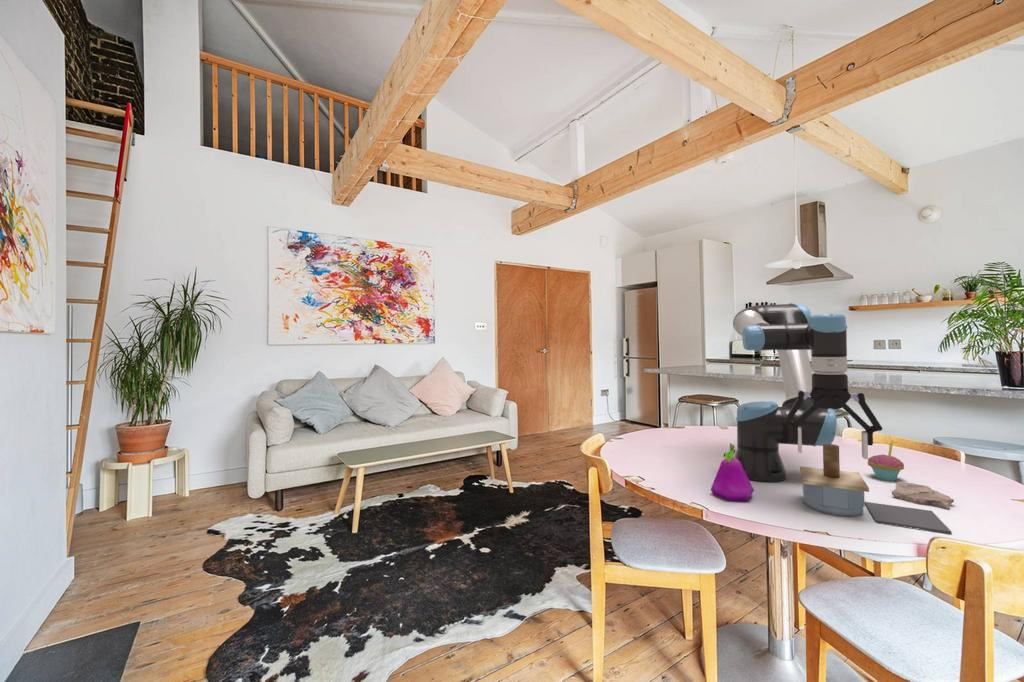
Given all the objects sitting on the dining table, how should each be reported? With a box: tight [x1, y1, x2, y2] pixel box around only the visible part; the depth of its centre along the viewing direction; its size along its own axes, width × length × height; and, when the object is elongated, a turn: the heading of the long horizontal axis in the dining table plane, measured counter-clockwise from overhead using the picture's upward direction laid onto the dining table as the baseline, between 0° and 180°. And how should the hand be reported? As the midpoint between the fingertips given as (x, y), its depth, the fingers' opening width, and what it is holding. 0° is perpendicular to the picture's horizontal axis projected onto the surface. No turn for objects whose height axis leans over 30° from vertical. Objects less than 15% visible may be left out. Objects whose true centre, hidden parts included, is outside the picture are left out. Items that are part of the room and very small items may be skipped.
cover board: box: [799, 443, 870, 493], centre depth 111 cm, size 13×13×9 cm
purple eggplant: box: [710, 443, 755, 502], centre depth 120 cm, size 11×11×15 cm
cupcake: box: [867, 439, 905, 482], centre depth 131 cm, size 9×8×12 cm
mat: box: [864, 501, 953, 535], centre depth 103 cm, size 13×13×1 cm
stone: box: [891, 481, 955, 510], centre depth 115 cm, size 12×12×3 cm
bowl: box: [801, 479, 866, 518], centre depth 111 cm, size 12×12×7 cm
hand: (831, 454), depth 110 cm, fingers open, 13 cm apart
